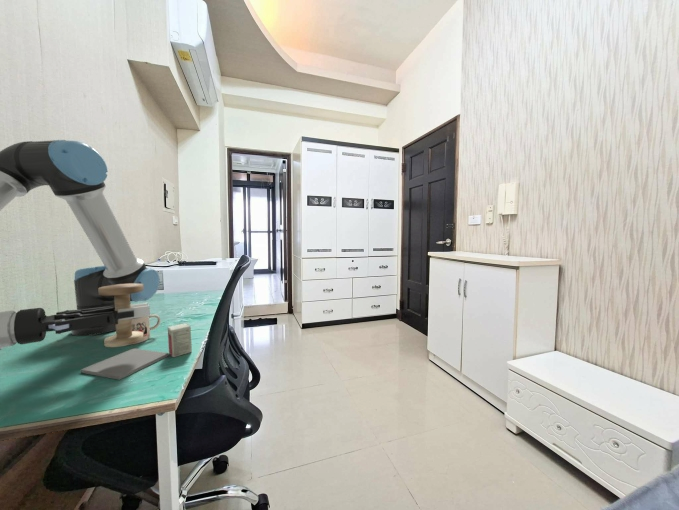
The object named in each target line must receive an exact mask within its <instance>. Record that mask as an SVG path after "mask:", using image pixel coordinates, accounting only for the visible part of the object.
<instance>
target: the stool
mask: <svg viewBox="0 0 679 510" xmlns="http://www.w3.org/2000/svg"><path fill="white" fill-rule="evenodd" d="M141 291H143V284H140V283H130V284H117V285H109V286H104V287H100V288H98V292H99V295H102V296H111V295H114V302H115V311H118V309H126V308H131V305H132V304H131V301H130V294H131V293H137V292H141ZM143 338H144V335H143V332H140V331H132V322H131V319H126V320H120V321H119V320H118V324H116V330H115V334H113V335H109V336H107V337H105V338H104V339H103V342H104V343H103V344H104V346H105V347H106V348H118V347H125V346H130V344H132V345H134V344H133V343H136V342H139V341H141V340H142V339H143Z"/></svg>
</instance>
